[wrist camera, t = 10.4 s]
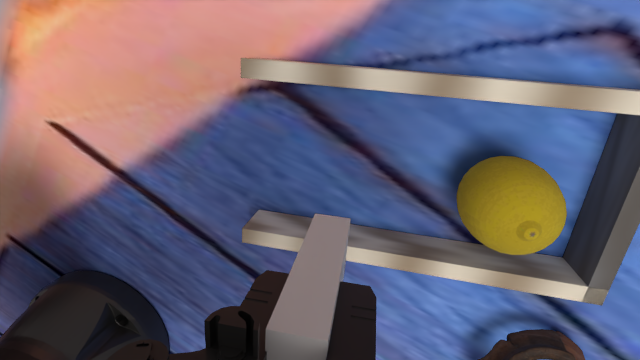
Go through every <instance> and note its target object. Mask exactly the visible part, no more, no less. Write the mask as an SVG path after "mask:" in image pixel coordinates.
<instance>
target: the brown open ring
mask: <svg viewBox="0 0 640 360" xmlns="http://www.w3.org/2000/svg"><path fill="white" fill-rule="evenodd" d="M538 359H552V360H585V358H584V355H583V352H582V350H581V349H580V348H579V347H578V346H577V345H576V344H575V343H574V342H573V341H572V340H570V339H569V338H568V337H566V336H565V335H564V334H562V333H561V332H559V331H556V332H555V331H553V330H544V329H540V330H524V331H519V332H515V333H510V334H508V335H507V341H505V340H500V341H498V342H497V343H496V344H495V345H494V347H493V348H492V350H491V351H490V352H489V353H488V354H487V355H486V356H485V357H483V358H481V359H478V360H538Z"/></svg>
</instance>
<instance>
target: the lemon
mask: <svg viewBox="0 0 640 360" xmlns="http://www.w3.org/2000/svg"><path fill="white" fill-rule="evenodd" d="M457 208H458V212H459V214H460V217H461V220H462V222H463V224H464V225H465V226H466V228H467V229H468V230H469V232H470V233H471V234H472V235H473V236H474V237H475V238H476V239H477V240H479V241H480V242H481V243H483V244H484V245H485V246H487V247H489V248H491V249H493V250H495V251H498V252H500V253H505V254H510V255H526V254H531V253H535V252H537V251H540V250H542V249H544V248H546V247H547V246H549V245H550V244H552V243H553V242H554V241H555V240H556V238H557V237H558V236H559V235H560V233H561V231H562V229H563V227H564V225H565V221H566V216H567V212H566V202H565V199H564V197H563V194H562V192H561V190H560V188H559V186H558V184H557V183H556V182H555V180H554V179H553V178H552V177H551V176H550V175H549V174H548V173H547V172H546V171H545V170H544V169H542V168H541V167H539V166H538V165H536V164H534V163H533V162H531V161H529V160H525V159H522V158H518V157H515V156H497V157H491V158H488V159H485V160H483V161H481V162H479V163H477V164H476V165H474V166H473V167H471V168H470V169H469V170H468V172H467V173H466V174H465V175H464V176H463V178H462V180H461V182H460V184H459V187H458V191H457Z"/></svg>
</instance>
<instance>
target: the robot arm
mask: <svg viewBox="0 0 640 360" xmlns="http://www.w3.org/2000/svg"><path fill="white" fill-rule="evenodd" d="M350 220H351V219H350V218H343V217H336V216H329V215H322V214H315V215H314V217H313V219H312V222H311V224H310V227H309V229H308V231H307V234H306V236H305V238H304V241H303V243H302V245H301V248H300V250H299V252H298V255H297V257H296V259H295V262H294V264H293V266H292V269H291V271H290V273H289V274H287V273H281V272H275V271H269V270H267V271H265V272H264V273H263V274H261V275H260V276H259V277H257V278H256V280H255V281H254V283H253V285H252V287H251V288H250V291H249V292H248V294H247V295H246V297H245V300H244V301H243V302H242V304H241V306H230V307H226V308H221V309H219V310H217V311H215V312H213V313H211V314H210V315H209V316H208V318H207V319H206V320H205V321H204V322H205V341H206V348H205V349H203V350H200V351H195V352H189V353H177V354H169V341H168V336H167V333H166V330H165V327H164V325H163V323H162V321H161V319H160V317H159V316H158V314H157V313H156V311H155V310H154V309H153V307H152V306H151V305H150V304H149V303H148V302H147V301H146V300H145V299H144V298H143V297H142V296H141V295H140V294H139V293H138V292H137V291H135V290H134V289H133V288H131V287H130V286H128V285H127V284H125V283H123V282H122V281H120V280H118V279H116V278H114V277H111V276H109V275H106V274H103V273H99V272H94V271H74V272H70V273H67V274H65V275H63V276H61V277H60V278H58V279H57V280H55V281H54V282H52V283H51V284H49V285H48V286H46V287H45V288H43V289H42V290H41V291H40V292H39V293H38V294H37V295H36V296H35V297H34V298H33V300H32V301H31V303H30V305H29V307H28V309H27V310H26V311H25V312H24V313H23V314H22V315H21V316H20V317H19V318H18V319H17V320H16V321H15V322H14V323H13V324H12V325H11V326H10V327H9V328H8V329H7V331H6V332H5V333H4V334H3V335H2V336H1V338H0V360H375V356H376V296H375V294H374V293H373V291H372V289H371V287H370V286H365V285H359V284H353V283H347V282H343V278H344V271H345V262H346V254H347V245H348V237H349V228H350Z"/></svg>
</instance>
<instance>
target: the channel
mask: <svg viewBox="0 0 640 360" xmlns="http://www.w3.org/2000/svg"><path fill="white" fill-rule="evenodd" d="M241 78H249V79H260V80H270V81H281V82H292V83H302V84H313V85H324V86H334V87H345V88H355V89H366V90H377V91H387V92H398V93H409V94H419V95H430V96H441V97H451V98H462V99H473V100H483V101H494V102H504V103H515V104H526V105H536V106H547V107H558V108H568V109H579V110H590V111H600V112H611V113H618V114H617V117H616V119H615V122H614V125H613V127H612V130H611V132H610V135H609V138H608V140H607V143H606V146H605V148H604V151H603V153H602V156H601V159H600V161H599V164H598V166H597V169H596V172H595V174H594V177H593V180H592V182H591V185H590V187H589V190H588V193H587V195H586V198H585V201H584V203H583V206H582V208H581V211H580V214H579V216H578V219H577V222H576V224H575V227H574V229H573V232H572V235H571V237H570V240H569V242H568V245H567V248H566V250H565V253H564V256H563V258H562V257H556V256H550V255H543V254H537V253H531V254H526V255H510V254H505V253H500V252H498V251H495V250H493V249H491V248H489V247H487V246H485V245H480V244H474V243H467V242H461V241H455V240H449V239H442V238H436V237H430V236H423V235H417V234H411V233H404V232H398V231H392V230H385V229H379V228H373V227H366V226H360V225H354V224H350V228H349V237H348V245H347V254H346V261H352V262H358V263H363V264H369V265H375V266H380V267H386V268H392V269H398V270H403V271H409V272H415V273H420V274H426V275H432V276H437V277H443V278H449V279H454V280H460V281H466V282H472V283H477V284H483V285H489V286H494V287H500V288H506V289H511V290H517V291H523V292H529V293H534V294H540V295H546V296H551V297H557V298H563V299H568V300H574V301H580V302H586V303H591V304H597V305H602V304H603V302H604V300H605V298H606V295H607V293H608V291H609V289H610V287H611V284H612V282H613V280H614V278H615V276H616V274H617V271H618V269H619V267H620V265H621V263H622V260H623V258H624V256H625V254H626V252H627V249H628V247H629V245H630V243H631V241H632V238H633V236H634V234H635V232H636V230H637V227H638V225H639V223H640V90H636V89H624V88H612V87H600V86H588V85H576V84H564V83H552V82H540V81H528V80H516V79H504V78H492V77H480V76H468V75H456V74H444V73H432V72H420V71H408V70H396V69H384V68H372V67H360V66H348V65H336V64H324V63H312V62H300V61H288V60H276V59H264V58H241ZM312 219H313V218H309V217H303V216H297V215H290V214H284V213H278V212H271V211H265V210H258V211H257V212H256V213H255V214H254V216H253V217H252V218H251V219H250V220H249V221H248V222H247V224H246V225H245V226H244V227H243V228H242V242H244V243H249V244H255V245H261V246H266V247H272V248H278V249H284V250H289V251H295V252H299V250H300V248H301V245H302V243H303V241H304V238H305V236H306V234H307V231H308V229H309V227H310V224H311V222H312Z"/></svg>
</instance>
